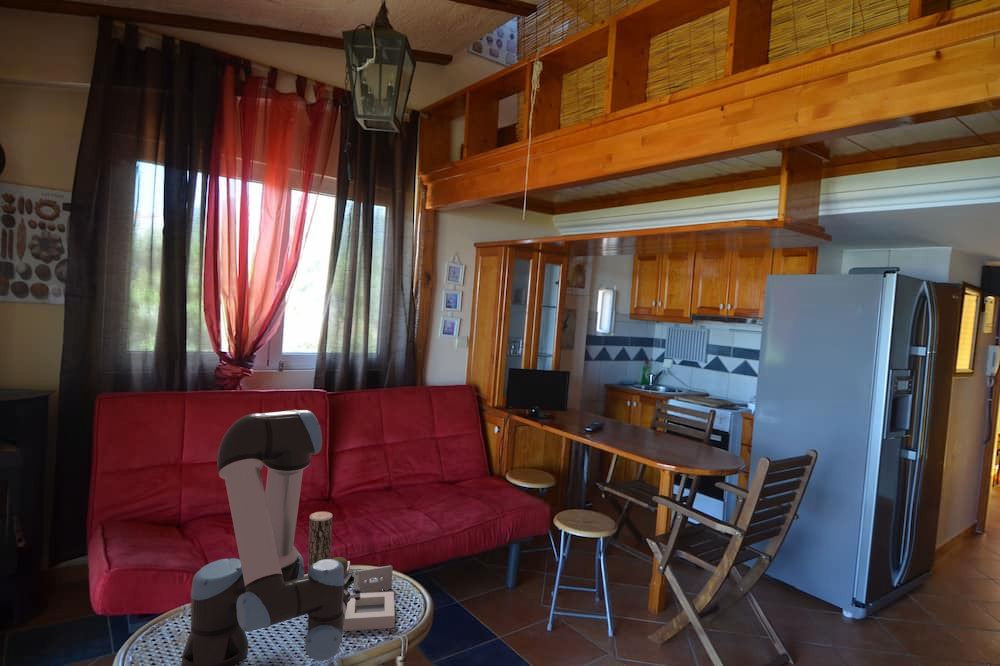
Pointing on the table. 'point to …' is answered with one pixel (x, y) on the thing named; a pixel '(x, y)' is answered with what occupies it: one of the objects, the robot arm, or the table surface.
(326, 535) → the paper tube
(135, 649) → the table surface
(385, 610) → the socket block
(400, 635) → the table surface
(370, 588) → the cassette
